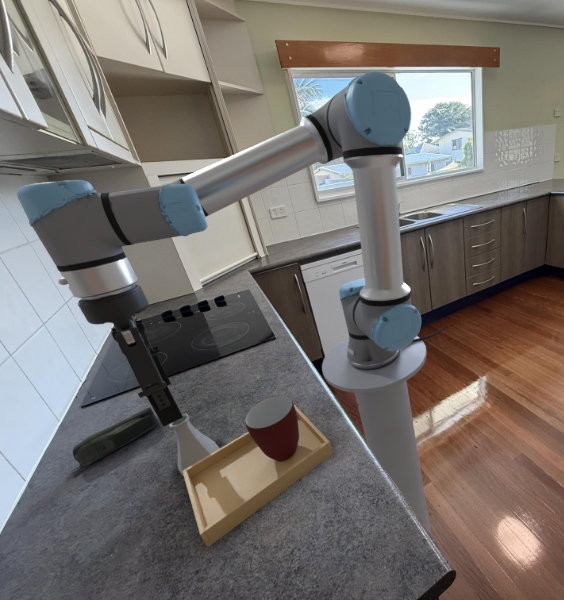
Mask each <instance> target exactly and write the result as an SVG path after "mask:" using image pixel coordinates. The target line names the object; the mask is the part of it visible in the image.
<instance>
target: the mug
mask: <svg viewBox="0 0 564 600" xmlns="http://www.w3.org/2000/svg"><path fill="white" fill-rule="evenodd" d="M294 405H295V404H294V402H293V399H292V398H291V397H289V396H288V395H283V394H282V395H281V394H279V395H273V396H269V397H266V398H265V399H262V400H260V401H259V402H257V403H256V404H254V405H253V406H252V407H251V408H250V409H249V410H248V411H247V413H246V415H245V417H244V425H245V427H246V429H247V432H249V434H250V436H251V437H252V439H253V440H254V441H255V443H256V444H257V445H258V447H259V448H260V449H261V450H262V452H263V453H264V454H265V455H266V456H268V457H269V458H271V459H274V460H276V461H285V460H288V459H289V458H291V457H292V456H293V455H294V453H295V451H296V449H297V445H298V441H299V428H298V419H297V413H296V409H295V407H294Z"/></svg>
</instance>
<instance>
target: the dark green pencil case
mask: <svg viewBox="0 0 564 600" xmlns="http://www.w3.org/2000/svg"><path fill="white" fill-rule="evenodd" d="M158 425H159V421H158V419H157V417H156V415H155V412H154V411H153V408H152V407H146V408H144V409H141V410H140V411H138V412H136V413H134V414H132V415H130V416H128V417H125V418H124V419H122V420H120V421H118V422H116V423H114V424H112V425H110V426H107V427H105V428H104V429H101V430H98V431H97V432H94V433H93V434H90V435H88V436H87V437H86V438H85V439H83V440H82V441H80V442H79V443H77V444H76V445H75V446H74V448H73V449H72V455H73V458H74V459H75V461H77V463H79V464H78V465H79V466H78V467H76V468H74V469H72V471H71V473H72V474H76V473H78V472H79V471H80V470H83V469H85V468H86V467H88V466H90V465H91V464H93V463H95V462H96V461H99V460H100V459H102V458H104V457H106V456H108V455H110V454H111V453H113V452H114V451H117V450H118V449H120V448H121V447H124V446H125V445H128V444H129V443H131V442H133V441H135V440H137V439H139V438H140V437H142V436H144V435H145V434H147V433H149V432H151V431H153V430H154V429H155V428H156V427H158Z"/></svg>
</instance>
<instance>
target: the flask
mask: <svg viewBox="0 0 564 600" xmlns="http://www.w3.org/2000/svg"><path fill="white" fill-rule="evenodd" d="M181 414H182V416H183V418H181V419H179V420H177V421H175V422H173V423H171V424H169V425H168V426H169V428H170V429H171V430H173V431H174V433H175V438H176V442H177V443H176V444H177V445H176V446H177V447H176V448H177V470H178V471H179V473H180V474H181V476H183V477H184V475H183V472H182V471H183V470H185V469H186V468H188V467H190V466H191V465H193V464H195V463H196V462H198V461H200V460H201V459H203V458H205V457H206V456H208V455H210V454H211V453H213V452H215V451H217V450H218V449H220V448H221V447H219V445H218V444H217V443H216V442H215V441H214V440H212V439H211V438H209V437H208V436H206V435H204V434H203V433H202V432H200V431H199V430H198V429H197V428H195V427H194V425H193V424H192V423H191V421H190V416H189V414H188V413H187V412H186V413H181Z"/></svg>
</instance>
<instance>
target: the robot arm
mask: <svg viewBox="0 0 564 600" xmlns="http://www.w3.org/2000/svg"><path fill="white" fill-rule="evenodd" d="M410 103H411V102H410V101H409V98H408V94H407V93H406V91H405V89H404V88H403V87H402V86H400V84H399V83H398V81H397V80H396V79H395V78H393V77H392V76H390V75H389V74H387V73H385V72H381V71H369V72H365V73H363V74H361V75H359V76H356V77H354V78H353V79H352V80H350V82H349V83H348V85H347V86H345V87H344V88H343V89H341V90H340V91H339V92H337V93H336V94H335V95H334V96H332V97H331V98H330V99H329V100H327V102H326V103H325V104H323V105H322V106H320V107H319V108H318V109H317V110H315V111H313V112H312V113H310V114H307V115H305V116H303V117H301V118H300V122H299V125H296V126H295V127H293V128H291V129H288V130H286V131H284V132H282V133H279V134H277V135H275V136H273V137H270V138H268V139H266V140H264V141H261V142H259V143H257V144H255V145H252V146H251V147H248V148H246V149H244V150H241V151H239V152H237V153H235V154H232V155H230V156H228V157H226V158H223V159H221V160H219V161H217V162H214V163H213V164H210V165H207V166H206V167H204V168H202V169H199V170H197V171H195V172H193V173H190V174H187V175H186V176H184V177H182V178H179V179H177V180H174V181H173V182H170V183H167V184H163V185H156V186H149V187H142V188H134V189H129V190H122V191H114V192H98V190H96V189H95V188H94V187H93V185H92V184H91V183H90V182H89V181H87V180H84V179H72V180H71V179H70V180H69V179H68V180H61V181H60V180H58V181H47V182H46V181H45V182H37V183H30V184H26V185H23V186H21V187H19V188H18V190H17V192H16V197H17V199H18V201H19V203H20V205H21V207H22V209H23V211H24V213H25V216H26V218H27V220H28V224H29V225H30V227H31V228H32V229H33V231H34V232H35V234H36V236H37V237H38V240H40V242H41V243H42V245H43V247H44V248H45V250H46V252H47V253H48V256H49V257H50V258H51V260H52V261H53V264H54V265H55V267H56V269H57V271H58V272H59V273H60V275H61V276H62V277H61V278H58V282H57V283H58V284H59V285H60V286H65V285H68V289H69V291H70V293H71V294H72V296H73V297H74V298H77V299H79V300H78V302H77V306H78V308H79V310H80V311H81V313H82V314H83V316H84V318H85V320H86V321H87V323H89V324H91V325H104V324H108V323H109V324H113V327H111V332H110V334H111V336H112V338H113V340H114V342H115V343H117V344H118V346H119V348H120V349H119V350H120V351H121V353H122V355H124V356H125V358H126V360H127V362H128V364H129V366H130V368H131V370H132V373H133V375H134V377H135V378H136V380H137V383H138V385H139V387H140V389H141V391H140V392H137V395H138V397H139V398H140V399H141V398H144V397H146V398H147V400H148V402H149V403H150V405H151V408H152V410H154V411H153V412H154V413H155V414H156V416H157V418H158V420H159V421H160V424H161V426H162V427H163V428H164V427H166V426H169V424H171V423H173V422H175V421H177V420H179V419H181V418H183V416H182V414H183V413H182V412H181V410H180V408H179V405H178V404H177V402H176V400H175V398H174V396H173V394H172V393H171V390H170V388H169V386H171V385H172V382H171V380H170V378H169V376H168V374H167V372H166V370H165V368H164V366H163V364H162V363H161V360H160V359H159V356H158V355H157V354H158V353H160V352H161V351H160V349H159V347H158V346H154V347H153V343H152V342H151V341H150V340H149V337H148V336H149V334H148V330H147V328H146V325H145V323H144V321H143V319H142V318H137V316H136V315H137V314H140V313H142V312H143V311H145V310H146V309H147V308H148V307H149V305H150V303H149V300H148V299H147V297H146V295H145V292H144V290H143V288H142V286H141V285H139V284H137V282H138V280H139V279H138V277H137V274H136V272H135V271H134V269H133V266H132V264H131V262H130V260H129V258H128V256H127V255H126V252H125V251H124V249H123V247H127V246H133V245H136V244H141V243H146V242H147V243H148V242H154V241H161V240H164V239H165V240H167V239H171V238H177V237H188V236H189V235H192V234H197V233H200V232H204V231H206V230H207V229H208V222H207V221H208V220H207V217H208V216H210V215H213V214H215V213H217V212H218V211H221V210H223V209H225V208H227V207H229V206H231V205H233V204H235V203H237V202H239V201H242V200H243V199H245V198H247V197H250V196H252V195H254V194H255V193H258V192H259V191H261V190H264V189H265V188H268V187H269V186H272V185H273V184H276V183H277V182H280V181H282V180H284V179H286V178H288V177H290V176H292V175H294V174H296V173H299V172H300V171H302V170H304V169H306V168H309V167H310V166H312V165H315V164H317V163H319V164H322V165H326V164H329V163H330V162H332V161H334V160H337V159H340V158H342V159H343V163H344V164H346V165H347V166H348V167H349V168H350V169H351V171H352V180H353V186H354V197H355V205H356V213H357V222H358V231H359V240H360V248H361V257H362V265H363V266H362V267H363V276H364V277H363V278H358V279H357V278H356V279H355V280H351V281H348V282H346V283H344V284H342V285H341V286H340V288H339V290H338V294H339V301H340V303H341V309H342V311H343V315H344V316H343V317H344V320H345V325H346V328H347V333H348V338H349V343H348V346H347V357H348V362H349V364H350V365H351V366H352V367H354V368H356V369H359V370H376V369H380V368H383V367H385V366H388V365H389V364H391V363H393V362H394V361H395V360H396V359H397V358H398V356H399V354H400V350H401V349H403V348H405V347H407V346H408V345H409V344H411V343H412V342H415V341H419V340H422V341H423V340H427V339H430V338H433V337H435V336H437V335H438V334H440V333H441V332H442V331H444V330H445V329H446V328H447V326H446V325H444V326H442V327H441V328H440V329H438V330H437V331H436V332H434V333H432V334H429V335H426V336H422V337H419V338H418V339H414V338H415V337H417V336H418V335H419V333H420V331H421V327H422V316H421V313H420V311H419V310H418V308H417V307H415V306H414V305H413V304H412V290H411V287H410V286H409V285H408V284H407V283H406V282H405V281H404V273H403V271H404V269H403V257H402V242H401V229H400V228H401V226H400V213H399V212H400V211H399V199H398V196H399V195H398V186H397V185H398V184H397V183H398V182H397V166H398V164H399V163H400V162H401V160H402V159H403V157H404V155H403V139H404V138H406V136H407V133H408V132H409V131H410V128H411V124H412V107H411V104H410Z"/></svg>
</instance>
